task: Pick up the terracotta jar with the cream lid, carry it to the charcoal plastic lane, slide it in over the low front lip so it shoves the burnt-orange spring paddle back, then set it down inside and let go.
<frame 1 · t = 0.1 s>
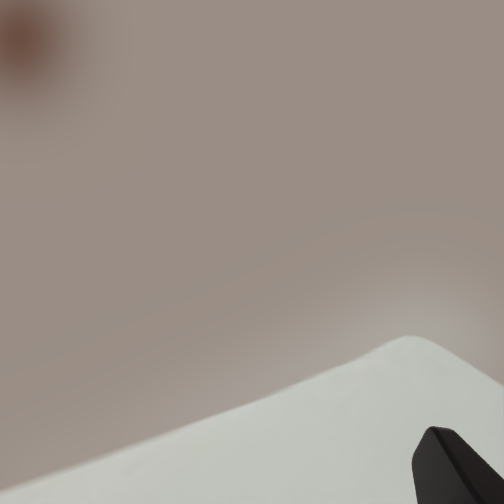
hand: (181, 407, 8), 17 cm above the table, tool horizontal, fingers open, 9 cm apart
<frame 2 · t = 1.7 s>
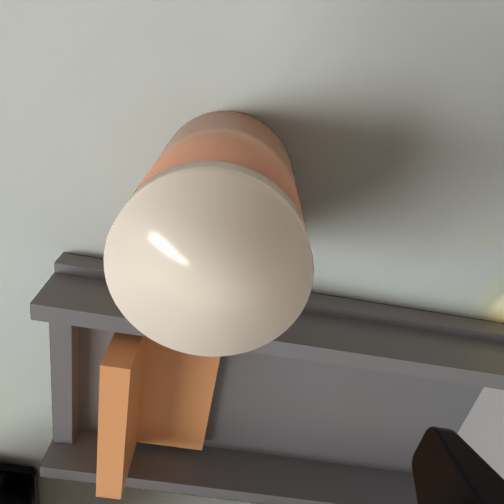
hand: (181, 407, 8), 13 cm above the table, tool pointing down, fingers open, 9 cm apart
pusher: (160, 410, 21), point 3 cm above the table, slide at 0.0 cm
jar: (226, 177, 19), on the table
lane: (285, 382, 25), on the table
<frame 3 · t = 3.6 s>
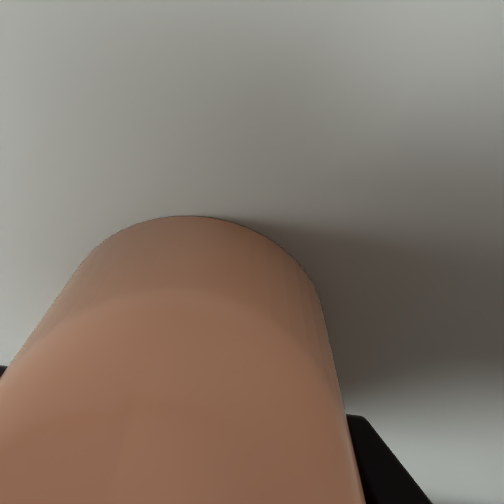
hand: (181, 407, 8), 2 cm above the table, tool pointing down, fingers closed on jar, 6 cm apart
jar: (195, 334, 10), on the table, touching gripper
when the fingers open (4 cm above the table, at t = 10.5 s): jar stays where it is, resting on lane, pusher.
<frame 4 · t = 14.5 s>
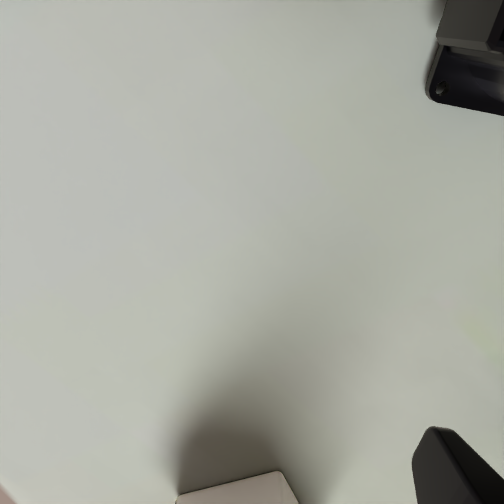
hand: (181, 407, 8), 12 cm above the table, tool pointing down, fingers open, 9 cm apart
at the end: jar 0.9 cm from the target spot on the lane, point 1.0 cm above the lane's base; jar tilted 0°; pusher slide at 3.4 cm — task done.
